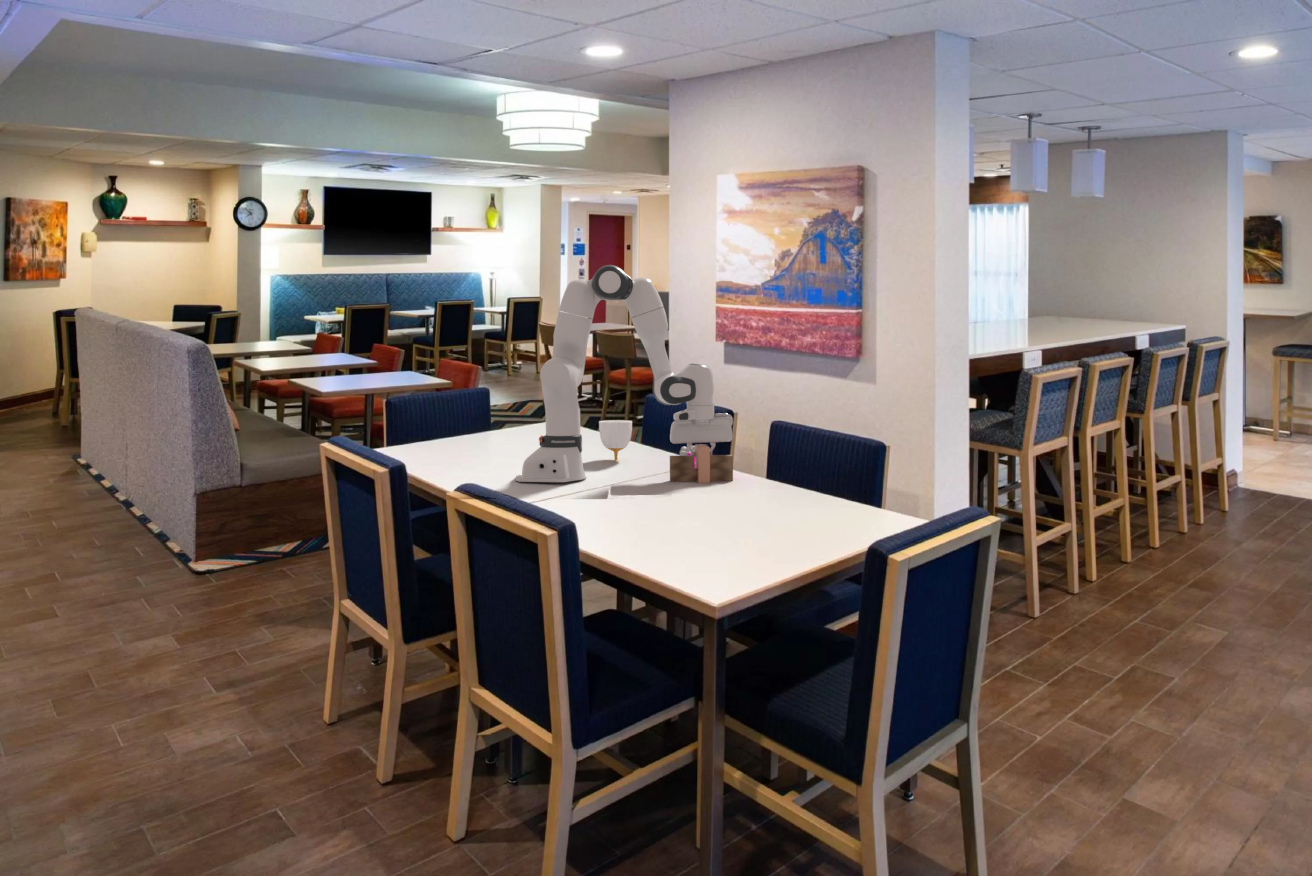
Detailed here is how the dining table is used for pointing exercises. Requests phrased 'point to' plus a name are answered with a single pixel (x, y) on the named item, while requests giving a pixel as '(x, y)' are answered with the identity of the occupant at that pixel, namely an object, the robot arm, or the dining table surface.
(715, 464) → the walnut rail
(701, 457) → the tan notched block
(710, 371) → the robot arm
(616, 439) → the cup
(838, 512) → the dining table surface
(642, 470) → the dining table surface
